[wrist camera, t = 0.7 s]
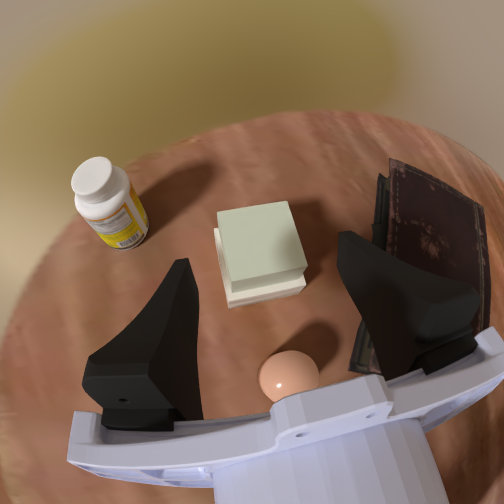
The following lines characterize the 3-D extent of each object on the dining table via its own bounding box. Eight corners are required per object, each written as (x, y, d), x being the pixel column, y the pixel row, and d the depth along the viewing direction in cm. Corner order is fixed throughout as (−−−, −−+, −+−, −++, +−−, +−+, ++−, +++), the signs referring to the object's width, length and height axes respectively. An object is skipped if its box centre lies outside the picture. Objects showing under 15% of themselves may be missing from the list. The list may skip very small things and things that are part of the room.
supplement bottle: (119, 202, 31) (87, 144, 21) (158, 215, 30) (133, 155, 21) (96, 243, 28) (52, 193, 19) (135, 260, 28) (96, 211, 19)
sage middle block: (298, 279, 25) (307, 265, 22) (231, 293, 24) (231, 281, 21) (280, 220, 27) (286, 200, 24) (218, 231, 26) (217, 212, 23)
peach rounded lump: (310, 392, 24) (324, 396, 20) (263, 404, 24) (268, 412, 20) (299, 347, 26) (311, 344, 22) (252, 358, 25) (256, 358, 21)
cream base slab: (297, 294, 28) (306, 284, 25) (228, 309, 27) (228, 301, 24) (280, 232, 31) (285, 216, 28) (215, 243, 30) (213, 228, 27)
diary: (468, 222, 35) (487, 207, 30) (461, 389, 25) (488, 388, 20) (370, 175, 35) (386, 152, 31) (338, 368, 26) (360, 368, 21)
